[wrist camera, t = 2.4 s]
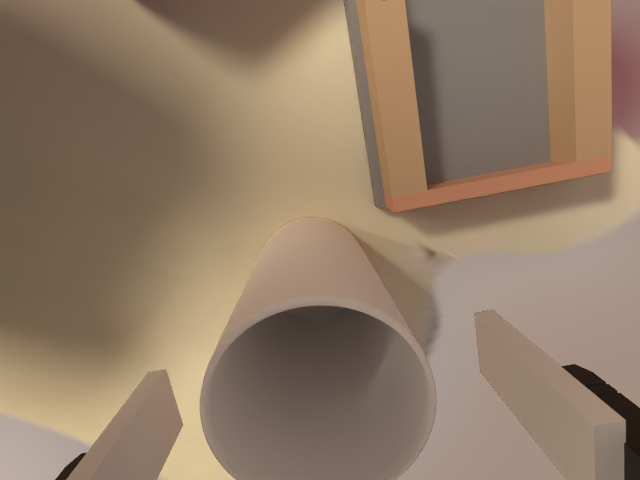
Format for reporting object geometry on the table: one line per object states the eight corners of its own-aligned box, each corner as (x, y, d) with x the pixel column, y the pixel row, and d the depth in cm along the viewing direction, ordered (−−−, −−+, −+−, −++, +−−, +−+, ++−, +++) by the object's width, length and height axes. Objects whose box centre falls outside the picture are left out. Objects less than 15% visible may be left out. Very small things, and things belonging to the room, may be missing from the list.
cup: (241, 296, 29) (164, 466, 13) (283, 199, 27) (252, 259, 11) (338, 334, 30) (374, 535, 14) (383, 243, 28) (481, 353, 12)
